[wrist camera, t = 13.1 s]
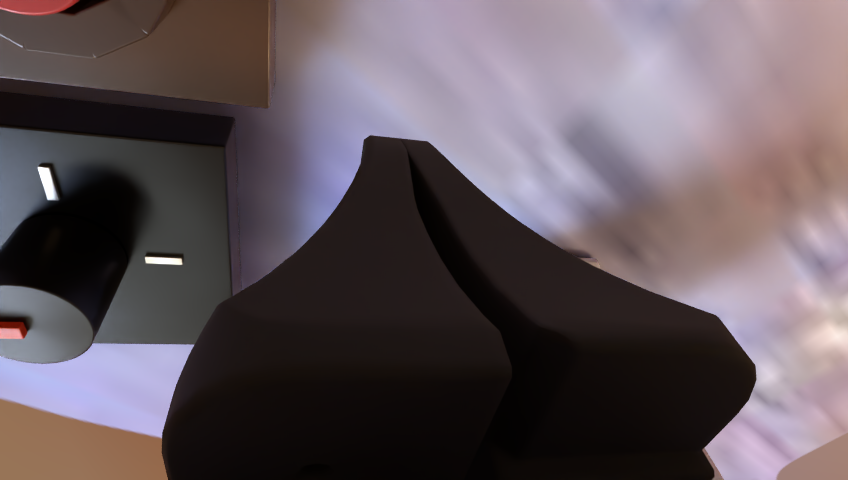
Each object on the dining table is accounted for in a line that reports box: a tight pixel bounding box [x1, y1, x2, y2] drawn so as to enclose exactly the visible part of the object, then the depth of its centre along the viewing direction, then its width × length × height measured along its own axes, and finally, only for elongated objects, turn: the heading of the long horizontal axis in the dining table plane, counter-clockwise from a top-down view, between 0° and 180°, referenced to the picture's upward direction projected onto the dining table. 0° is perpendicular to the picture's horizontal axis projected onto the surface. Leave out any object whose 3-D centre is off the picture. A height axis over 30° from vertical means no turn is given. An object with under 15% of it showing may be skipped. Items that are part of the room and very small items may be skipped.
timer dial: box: [0, 215, 127, 364], centre depth 18 cm, size 4×4×4 cm
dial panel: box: [0, 92, 241, 344], centre depth 21 cm, size 11×12×3 cm
